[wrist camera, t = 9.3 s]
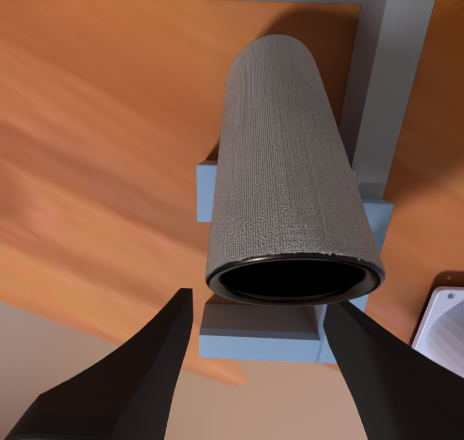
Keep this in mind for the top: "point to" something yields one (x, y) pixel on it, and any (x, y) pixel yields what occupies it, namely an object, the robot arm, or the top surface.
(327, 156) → the grey cylinder
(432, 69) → the top surface
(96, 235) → the top surface
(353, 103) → the grey flat angled piece
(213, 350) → the blue u-shaped bracket
